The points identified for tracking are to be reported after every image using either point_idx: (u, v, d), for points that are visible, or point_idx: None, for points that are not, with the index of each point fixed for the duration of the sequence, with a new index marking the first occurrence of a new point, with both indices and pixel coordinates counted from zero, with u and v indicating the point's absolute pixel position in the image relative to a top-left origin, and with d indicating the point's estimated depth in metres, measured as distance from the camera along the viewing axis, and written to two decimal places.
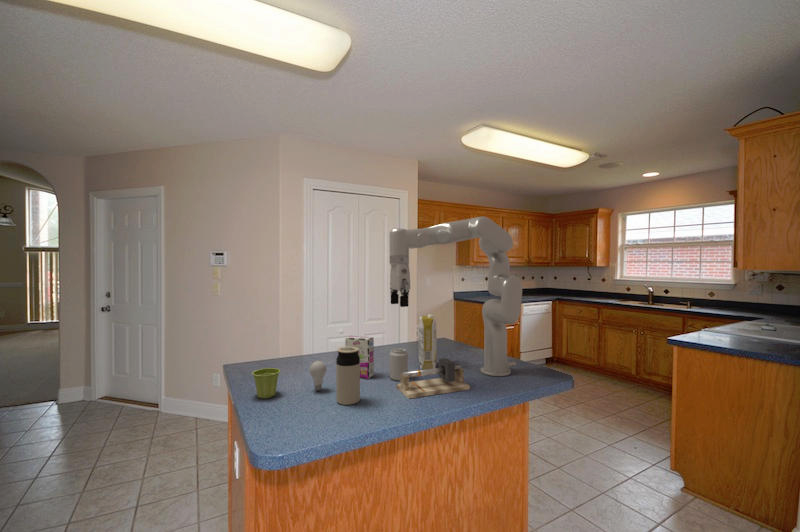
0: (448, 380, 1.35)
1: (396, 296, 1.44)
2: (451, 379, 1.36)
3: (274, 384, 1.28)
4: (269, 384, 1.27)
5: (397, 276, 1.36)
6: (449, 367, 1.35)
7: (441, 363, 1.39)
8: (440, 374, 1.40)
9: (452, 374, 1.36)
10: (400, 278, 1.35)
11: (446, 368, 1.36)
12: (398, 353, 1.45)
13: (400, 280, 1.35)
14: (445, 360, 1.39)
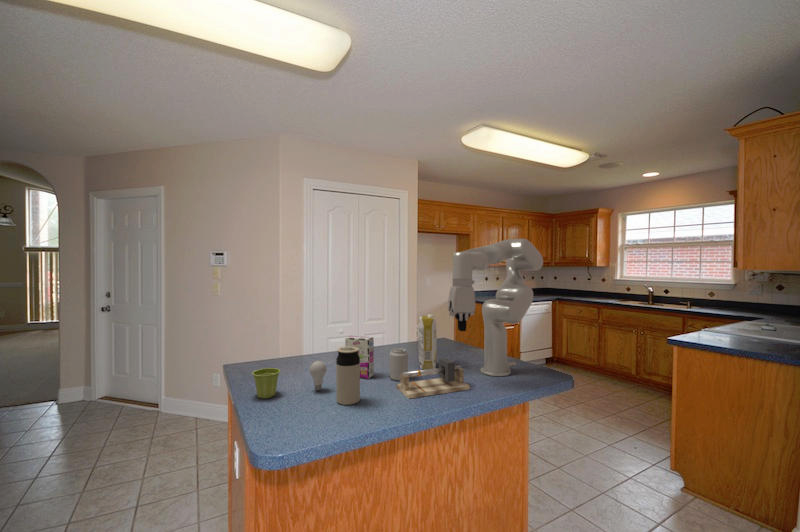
0: (448, 380, 1.35)
1: None
2: (451, 379, 1.36)
3: (274, 384, 1.28)
4: (269, 384, 1.27)
5: (473, 298, 1.40)
6: (449, 367, 1.35)
7: (441, 363, 1.39)
8: (440, 374, 1.40)
9: (452, 374, 1.36)
10: None
11: (446, 368, 1.36)
12: (398, 353, 1.45)
13: None
14: (445, 360, 1.39)
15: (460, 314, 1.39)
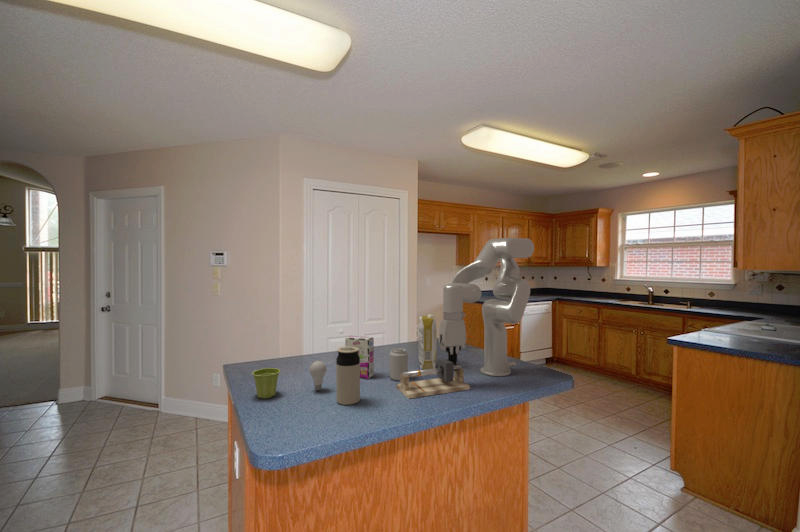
0: (446, 380, 1.35)
1: None
2: (449, 379, 1.35)
3: (274, 384, 1.28)
4: (269, 384, 1.27)
5: (464, 331, 1.39)
6: (447, 367, 1.35)
7: (440, 363, 1.39)
8: (439, 374, 1.40)
9: (451, 374, 1.36)
10: None
11: (444, 368, 1.36)
12: (398, 353, 1.45)
13: None
14: (444, 360, 1.39)
15: (451, 348, 1.38)
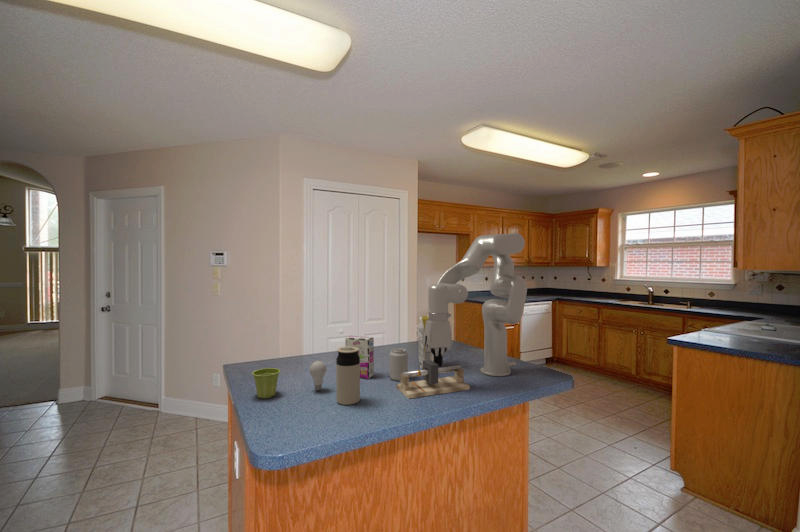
0: (431, 382, 1.33)
1: None
2: (434, 381, 1.33)
3: (274, 384, 1.28)
4: (269, 384, 1.27)
5: (449, 333, 1.37)
6: (432, 369, 1.33)
7: (425, 365, 1.37)
8: (424, 376, 1.38)
9: (436, 376, 1.33)
10: None
11: (429, 370, 1.33)
12: (398, 353, 1.45)
13: None
14: (429, 362, 1.36)
15: (436, 349, 1.35)
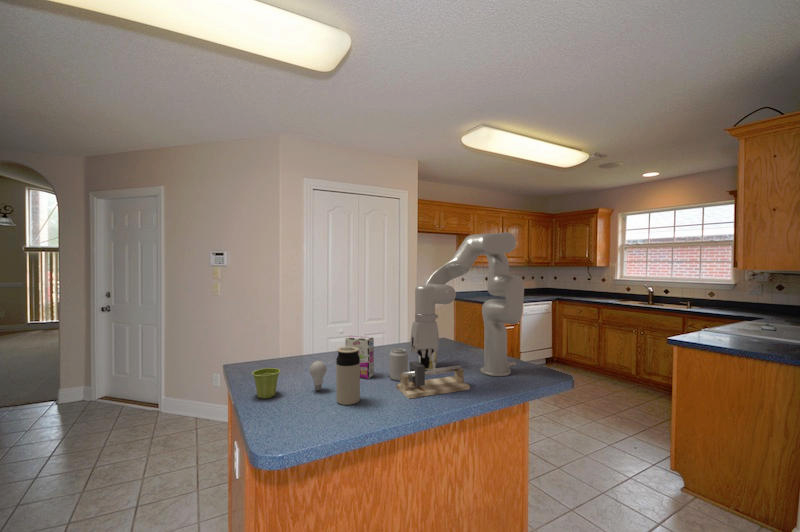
0: (418, 384, 1.31)
1: None
2: (421, 383, 1.31)
3: (274, 384, 1.28)
4: (269, 384, 1.27)
5: (436, 334, 1.35)
6: (419, 371, 1.31)
7: (411, 367, 1.35)
8: (410, 378, 1.36)
9: (422, 378, 1.31)
10: None
11: (416, 372, 1.31)
12: (398, 353, 1.45)
13: None
14: (415, 363, 1.34)
15: (422, 351, 1.33)
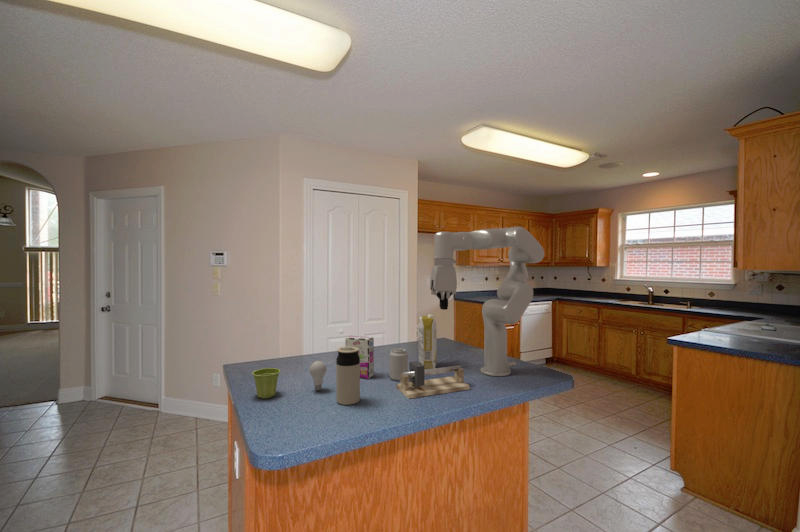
0: (417, 384, 1.30)
1: None
2: (420, 383, 1.31)
3: (274, 384, 1.28)
4: (269, 384, 1.27)
5: (454, 277, 1.43)
6: (418, 371, 1.30)
7: (411, 367, 1.35)
8: (410, 378, 1.36)
9: (422, 378, 1.31)
10: None
11: (415, 372, 1.31)
12: (398, 353, 1.45)
13: None
14: (415, 363, 1.34)
15: (442, 293, 1.42)
